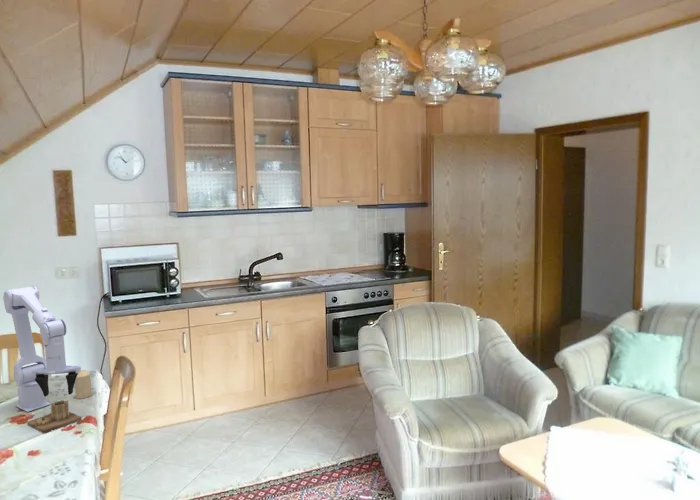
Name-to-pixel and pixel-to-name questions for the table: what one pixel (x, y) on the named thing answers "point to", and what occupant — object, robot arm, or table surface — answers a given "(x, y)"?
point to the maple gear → (60, 410)
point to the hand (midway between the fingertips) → (58, 394)
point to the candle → (83, 385)
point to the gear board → (52, 422)
